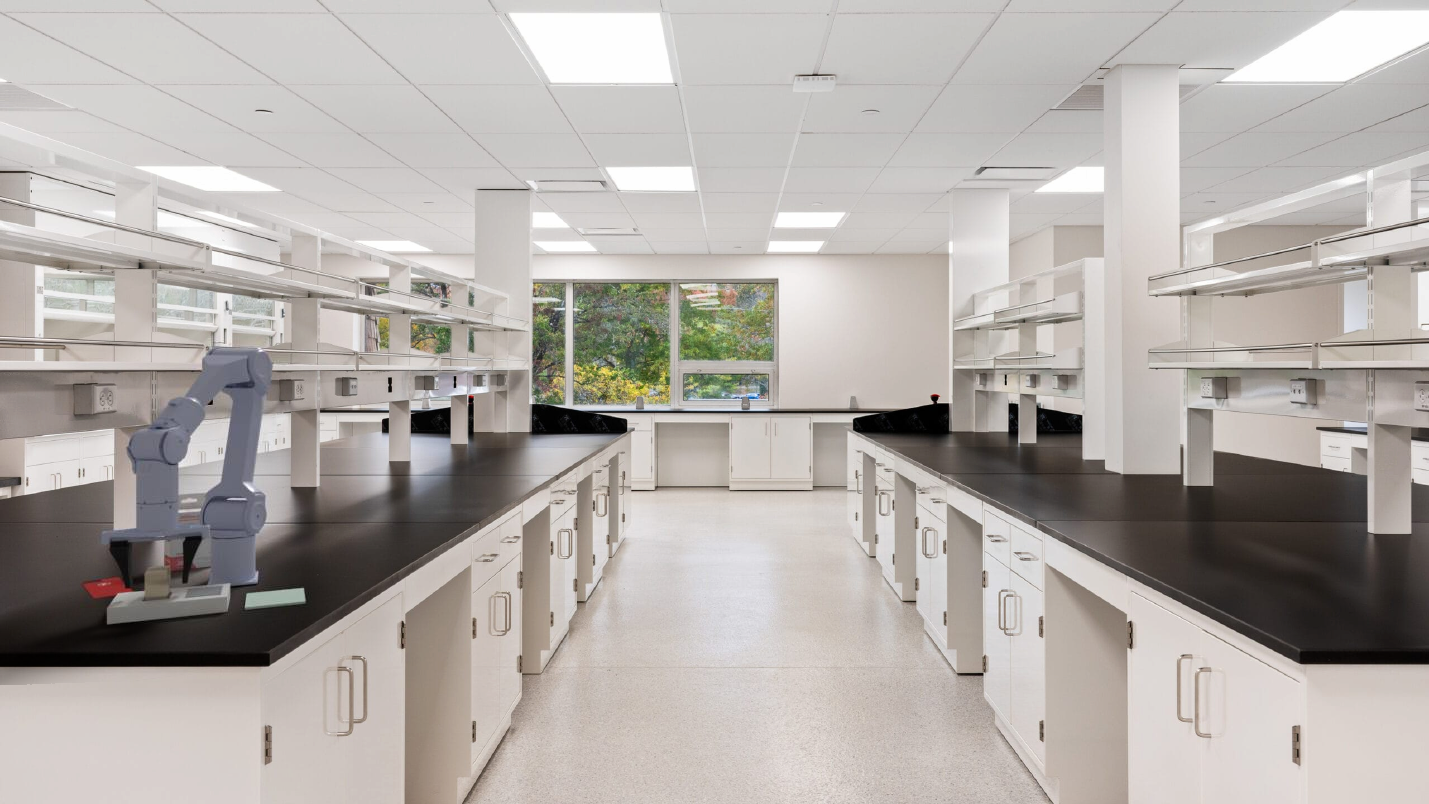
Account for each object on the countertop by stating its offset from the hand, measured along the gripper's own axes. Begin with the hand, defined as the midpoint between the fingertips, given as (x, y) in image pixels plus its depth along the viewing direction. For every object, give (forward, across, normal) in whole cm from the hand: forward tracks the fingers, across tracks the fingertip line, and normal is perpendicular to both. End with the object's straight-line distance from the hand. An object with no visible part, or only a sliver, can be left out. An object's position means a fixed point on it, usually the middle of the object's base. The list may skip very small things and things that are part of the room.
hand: (157, 584), depth 133 cm
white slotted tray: (+4, +2, 0) cm, 5 cm away
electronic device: (+5, -10, +22) cm, 25 cm away
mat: (+4, +17, 0) cm, 18 cm away
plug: (+4, 0, 0) cm, 5 cm away
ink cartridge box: (+4, +2, +35) cm, 35 cm away
